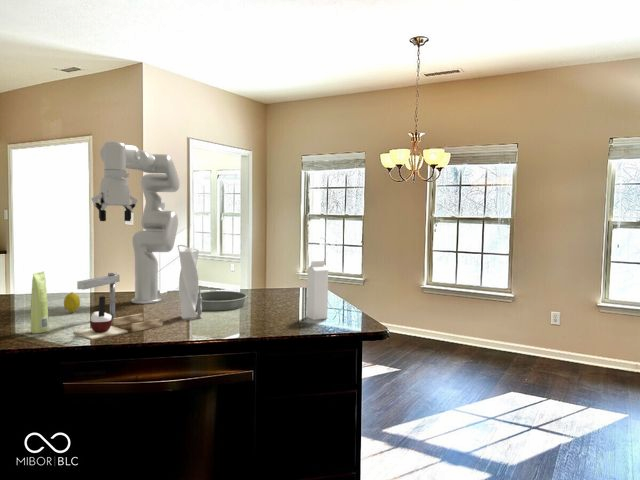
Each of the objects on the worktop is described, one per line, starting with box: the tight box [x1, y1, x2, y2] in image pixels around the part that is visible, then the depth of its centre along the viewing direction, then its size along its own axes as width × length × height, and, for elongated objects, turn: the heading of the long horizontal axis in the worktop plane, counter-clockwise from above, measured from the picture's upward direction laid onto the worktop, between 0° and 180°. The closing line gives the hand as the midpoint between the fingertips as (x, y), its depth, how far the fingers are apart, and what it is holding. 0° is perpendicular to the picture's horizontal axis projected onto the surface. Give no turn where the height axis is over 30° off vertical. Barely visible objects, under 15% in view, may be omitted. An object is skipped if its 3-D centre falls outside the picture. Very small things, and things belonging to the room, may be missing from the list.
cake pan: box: [196, 290, 248, 311], centre depth 199 cm, size 25×25×4 cm
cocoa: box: [90, 296, 113, 332], centre depth 149 cm, size 10×6×12 cm, turn 8°
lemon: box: [63, 291, 81, 313], centre depth 179 cm, size 6×6×8 cm
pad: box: [72, 325, 129, 341], centre depth 149 cm, size 12×12×1 cm
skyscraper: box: [177, 244, 203, 321], centre depth 174 cm, size 8×8×28 cm
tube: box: [30, 271, 49, 334], centre depth 149 cm, size 6×5×20 cm
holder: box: [112, 313, 163, 332], centre depth 160 cm, size 11×13×2 cm
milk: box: [306, 260, 329, 321], centre depth 177 cm, size 6×6×22 cm
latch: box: [76, 272, 121, 320], centre depth 163 cm, size 20×3×17 cm, turn 170°
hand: (115, 221), depth 172 cm, fingers open, 9 cm apart
